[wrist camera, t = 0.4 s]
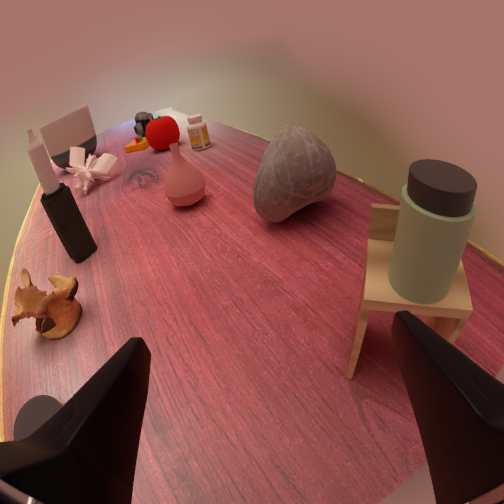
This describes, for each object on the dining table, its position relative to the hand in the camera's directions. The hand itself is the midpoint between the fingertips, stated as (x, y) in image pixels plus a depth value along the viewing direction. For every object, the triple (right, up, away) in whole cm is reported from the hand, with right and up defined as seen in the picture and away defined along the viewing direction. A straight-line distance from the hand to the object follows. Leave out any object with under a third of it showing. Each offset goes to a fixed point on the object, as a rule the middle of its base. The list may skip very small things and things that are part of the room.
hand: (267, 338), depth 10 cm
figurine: (-46, +22, +66) cm, 83 cm away
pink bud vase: (-12, +12, +46) cm, 49 cm away
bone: (-28, -7, +27) cm, 39 cm away
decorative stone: (+7, +9, +38) cm, 40 cm away
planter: (-67, +36, +88) cm, 116 cm away
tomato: (-27, +36, +79) cm, 91 cm away
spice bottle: (+11, +1, +9) cm, 14 cm away
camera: (-44, +51, +101) cm, 121 cm away
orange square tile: (-40, +40, +87) cm, 104 cm away
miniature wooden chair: (+13, -7, +17) cm, 22 cm away
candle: (-31, +3, +39) cm, 50 cm away
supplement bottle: (-15, +33, +72) cm, 80 cm away
